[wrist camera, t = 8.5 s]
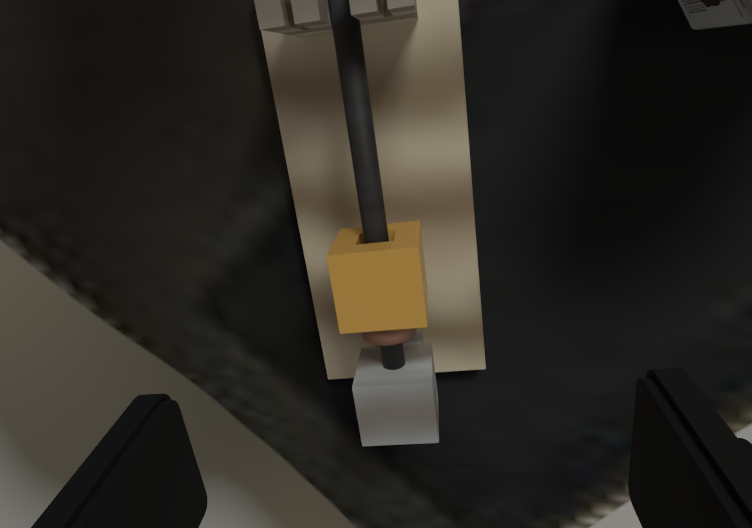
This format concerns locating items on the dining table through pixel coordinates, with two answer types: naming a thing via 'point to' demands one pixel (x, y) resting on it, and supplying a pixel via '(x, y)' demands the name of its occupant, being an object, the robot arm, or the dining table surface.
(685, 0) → the coffee box
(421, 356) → the cord rig
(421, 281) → the sleeve
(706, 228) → the dining table surface
